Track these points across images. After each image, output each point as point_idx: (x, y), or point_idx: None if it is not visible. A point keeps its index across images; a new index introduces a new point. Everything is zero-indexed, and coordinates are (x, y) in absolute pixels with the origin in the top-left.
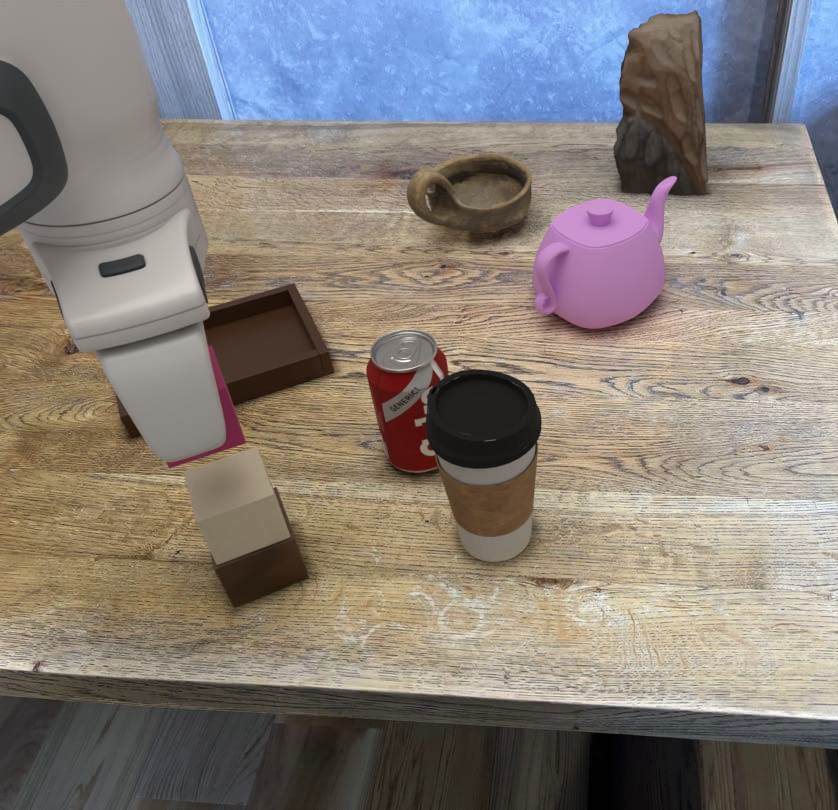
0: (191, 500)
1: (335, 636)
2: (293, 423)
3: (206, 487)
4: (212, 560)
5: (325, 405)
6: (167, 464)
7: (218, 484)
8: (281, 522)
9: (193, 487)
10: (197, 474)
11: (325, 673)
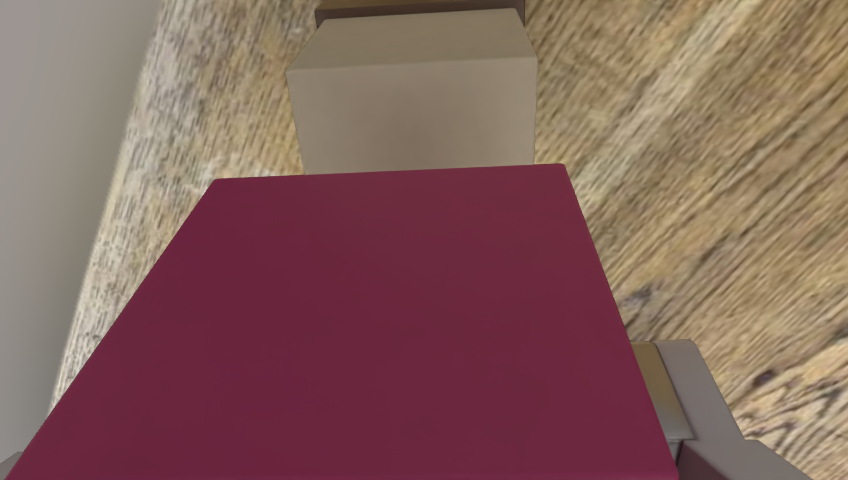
0: (384, 69)
1: (217, 151)
2: (807, 190)
3: (423, 119)
4: (346, 9)
5: (810, 258)
6: (207, 190)
7: (421, 153)
8: None
9: (444, 80)
10: (497, 99)
11: (145, 120)
